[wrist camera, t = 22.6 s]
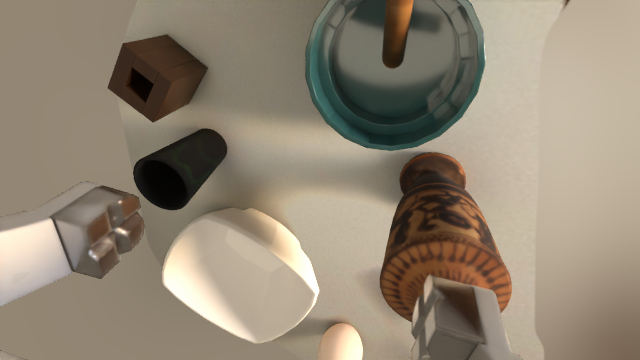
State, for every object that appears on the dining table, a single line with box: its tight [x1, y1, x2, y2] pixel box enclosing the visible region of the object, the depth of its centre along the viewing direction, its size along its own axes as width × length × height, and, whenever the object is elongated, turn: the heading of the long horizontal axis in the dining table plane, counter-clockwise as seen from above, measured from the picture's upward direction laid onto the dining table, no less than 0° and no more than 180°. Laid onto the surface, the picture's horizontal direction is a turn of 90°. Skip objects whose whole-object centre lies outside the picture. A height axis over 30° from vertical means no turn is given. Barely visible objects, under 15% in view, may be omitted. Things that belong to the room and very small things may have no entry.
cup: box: [133, 129, 227, 210], centre depth 46 cm, size 8×8×12 cm
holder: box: [108, 35, 208, 122], centre depth 43 cm, size 7×7×8 cm
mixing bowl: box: [305, 0, 485, 151], centre depth 36 cm, size 17×17×7 cm
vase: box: [380, 153, 512, 322], centre depth 33 cm, size 11×11×30 cm
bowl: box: [162, 207, 319, 344], centre depth 53 cm, size 22×22×12 cm
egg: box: [318, 323, 363, 360], centre depth 60 cm, size 8×8×11 cm
